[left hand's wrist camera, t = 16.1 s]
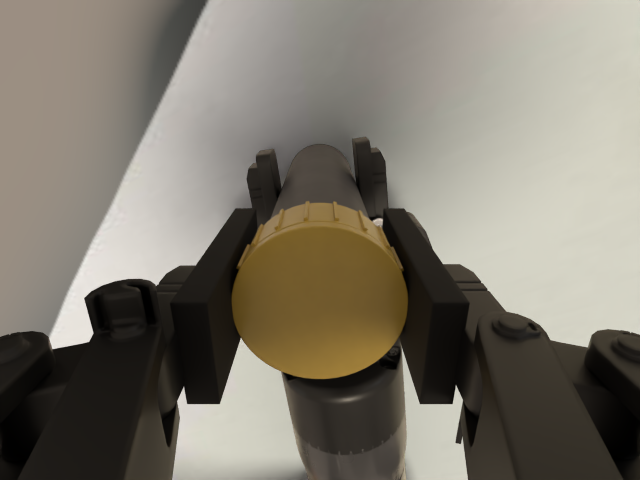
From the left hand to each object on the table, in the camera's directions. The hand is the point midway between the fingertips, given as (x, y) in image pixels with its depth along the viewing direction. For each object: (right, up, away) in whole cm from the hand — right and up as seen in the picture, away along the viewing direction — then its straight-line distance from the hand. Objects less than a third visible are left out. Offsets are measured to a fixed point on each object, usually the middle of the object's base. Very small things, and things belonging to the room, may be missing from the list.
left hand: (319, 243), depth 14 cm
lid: (0, -2, -4) cm, 4 cm away
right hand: (0, +5, +4) cm, 7 cm away
